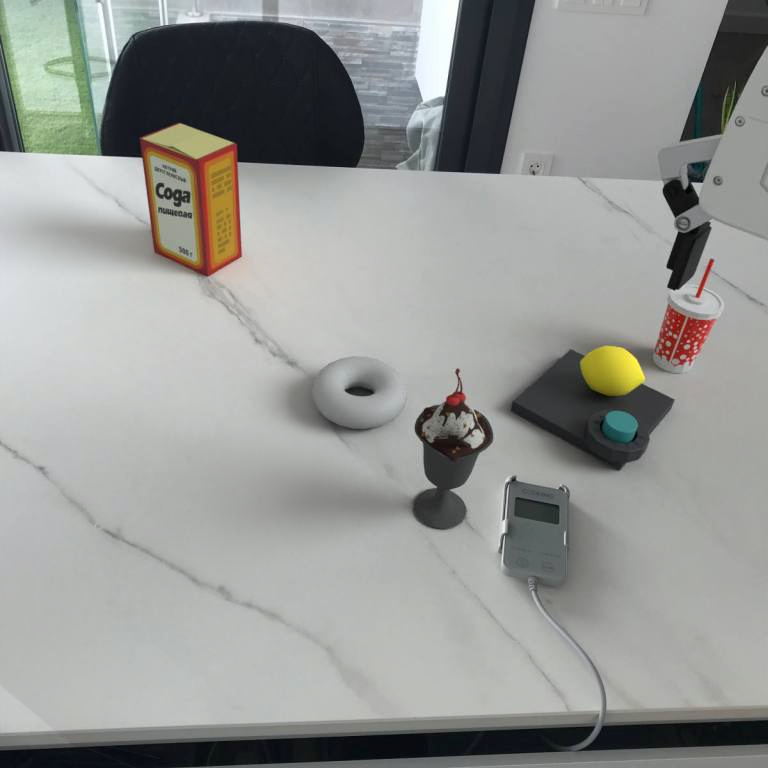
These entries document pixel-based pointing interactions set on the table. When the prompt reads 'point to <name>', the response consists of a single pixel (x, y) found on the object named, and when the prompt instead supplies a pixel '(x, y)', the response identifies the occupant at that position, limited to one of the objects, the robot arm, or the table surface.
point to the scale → (589, 411)
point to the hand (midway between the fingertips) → (750, 310)
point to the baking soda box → (193, 197)
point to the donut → (359, 408)
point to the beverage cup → (686, 325)
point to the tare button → (619, 426)
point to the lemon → (611, 371)
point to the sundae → (449, 456)
